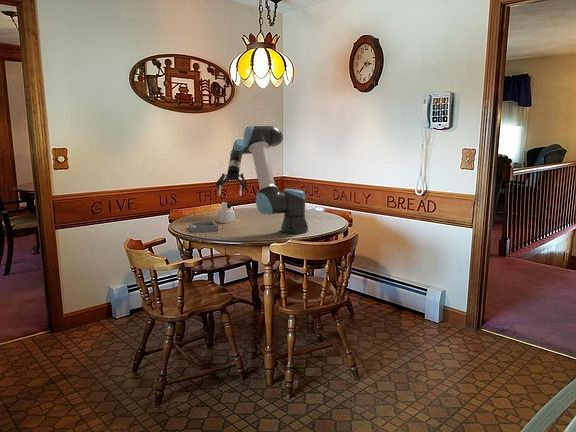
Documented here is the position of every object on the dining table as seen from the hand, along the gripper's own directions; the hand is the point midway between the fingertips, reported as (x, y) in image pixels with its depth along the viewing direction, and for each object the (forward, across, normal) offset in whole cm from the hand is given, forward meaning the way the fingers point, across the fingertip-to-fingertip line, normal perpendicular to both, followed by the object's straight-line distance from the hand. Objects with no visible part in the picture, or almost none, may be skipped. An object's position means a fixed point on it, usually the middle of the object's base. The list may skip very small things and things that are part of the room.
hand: (229, 194), depth 284 cm
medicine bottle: (+19, 0, -3) cm, 19 cm away
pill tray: (+34, +9, +12) cm, 37 cm away
